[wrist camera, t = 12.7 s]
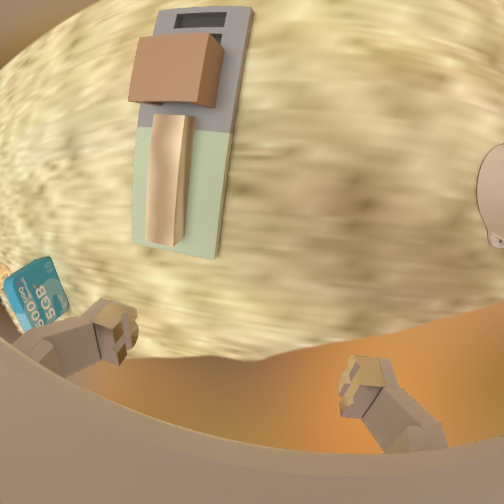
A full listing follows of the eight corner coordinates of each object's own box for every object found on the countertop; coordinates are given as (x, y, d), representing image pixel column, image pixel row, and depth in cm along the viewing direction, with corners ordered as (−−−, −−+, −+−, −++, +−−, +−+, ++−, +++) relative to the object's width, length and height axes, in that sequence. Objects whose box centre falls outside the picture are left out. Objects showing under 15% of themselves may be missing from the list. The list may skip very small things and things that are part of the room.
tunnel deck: (253, 12, 28) (241, -17, 20) (217, 254, 41) (198, 282, 33) (164, 15, 29) (136, -7, 21) (138, 238, 42) (107, 260, 34)
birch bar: (196, 117, 32) (184, 115, 29) (184, 236, 39) (173, 246, 35) (168, 116, 33) (153, 114, 29) (158, 231, 39) (145, 241, 35)
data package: (71, 306, 51) (36, 337, 40) (59, 306, 52) (25, 335, 41) (50, 254, 47) (9, 280, 36) (39, 257, 48) (0, 281, 37)
